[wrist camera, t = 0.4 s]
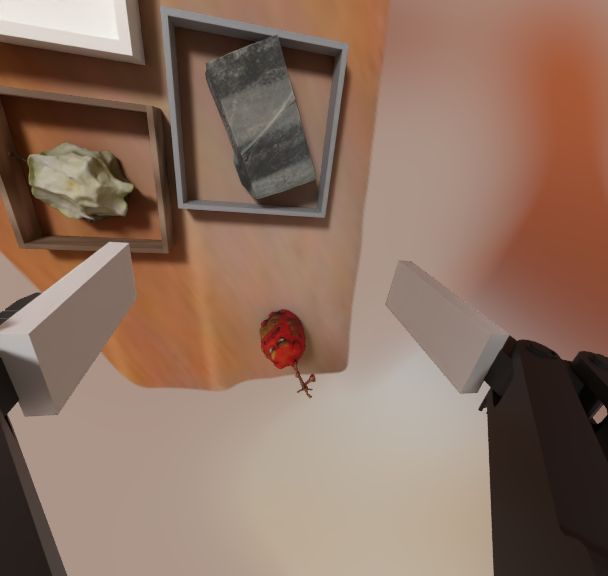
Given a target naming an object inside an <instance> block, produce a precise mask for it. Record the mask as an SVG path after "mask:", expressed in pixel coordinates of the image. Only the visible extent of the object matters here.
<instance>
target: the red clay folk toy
mask: <svg viewBox="0 0 608 576" xmlns="http://www.w3.org/2000/svg"><path fill="white" fill-rule="evenodd" d="M260 336H261V344H262V345H261V349H262V351H263V352H264V355H265V356H266V358H268V359H269V360H271V361H272V362H273V363H274V365H275V366H276V367H277V368H279V369H283V368H284V367H286V366H290V365H291V366H292V367H293V369H294V370H295V371H296V375H295V377H297V378H299V380H300V383H301V385H302V389H301V390H299V391H298V393H299V392H300V391H303V390H304V391H305V392H306V394H307V396H308V397H309V398H311V397H312V396H310V395H309V394H308V390H312V389H308V387H307V386H306V385H307V384H308V383H310V382H315V381H316V380H315V376H314V374H312V375H311V376H310V378H309V380H308V381H307V382H306V383H304V382H303V380H302V378H301V376H300V373H299V371H298V369H297V362H298V360H299V359H300V358H301V356H302V355H303V353H304V351H305V347H306V345H305V335H304V330H303V328H302V325H301V322H300V320H299V319H298V317H297V316H296V315H294V314H293V313H291V312H290V311H288V310H284V309H282V310H280V311H278V312H272V313H271V314H269V318H268V319H267V320H264V321H263V322H262V324H261V329H260Z"/></svg>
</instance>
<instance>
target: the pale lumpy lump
mask: <svg viewBox="0 0 608 576" xmlns="http://www.w3.org/2000/svg"><path fill="white" fill-rule="evenodd" d="M8 155H9V156H12V157H15V158H18V159H21V160H23V161H25V162H27V163H28V166H29V185H30V186H32V190H31V191H32V194H33V195H34V196H35V197H36V198H37V199H39V200H41V201H43V202H44V203H47V204H49V205H50V206H51V207H53V208H55V209H57V210H59V211H60V212H61V213H62V214H63V215H65V216H66V217H69V218H76V219H81V218H83V217H84V218H85V219H86V220H87V221H88V222H90V223H91V222H96V221H98V220H101V219H104V218H108V217H113V216H119V215H120V216H125V215H126V214H127V212H128V205H127V203H128V197H129V193H130V192H132V191H133V189H134V184H133V183H131V184H130V183H129V182H128V181H127V179H126V177H125V176H124V174H123V173H122V171H121V168H120V165H119V163H118V161H117V159H116V158H115V157H114V155H113V154H112V153H110V152H108V151H102V152H99V151H91V150H89V149H86V148H82V147H79V146H77V145H73V144H70V143H68V142H64V143H63V144H60V145H59V146H57V147H55V148H53V149H51V150H49V151H46V152H41V153H40V155H39V154H31V155H29V157H28V160H26V159H23V158H22V157H20V156H18V155H16V154H15V153H13V152H10V151H9V153H8ZM90 219H92V220H93V221H90Z"/></svg>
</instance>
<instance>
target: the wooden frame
mask: <svg viewBox="0 0 608 576" xmlns="http://www.w3.org/2000/svg"><path fill="white" fill-rule="evenodd" d="M0 95H6V96H14V97H22V98H29V99H37V100H45V101H53V102H61V103H69V104H76V105H84V106H92V107H100V108H108V109H116V110H124V111H131V112H139V113H147V120H148V128H149V136H150V145H151V153H152V161H153V169H154V178H155V186H156V194H157V202H158V211H159V219H160V227H161V235H162V240H148V239H125V238H101V237H78V236H55V235H43V234H42V231H41V228H40V224H39V221H38V218H37V215H36V211H35V208H34V205H33V202H32V199H31V195H30V192H29V189H28V186H27V183H26V179H25V176H24V173H23V170H22V167H21V163H20V160H19V159H18V158H15V157H12V156H9V155H8V153H9V151H10V152H13V153H15V154H16V155H18V154H17V150H16V147H15V144H14V141H13V138H12V134H11V131H10V128H9V125H8V122H7V118H6V115H5V112H4V109H3V106H2V102H1V99H0V194H1V197H2V200H3V203H4V205H5V208H6V211H7V214H8V217H9V220H10V222H11V225H12V228H13V231H14V234H15V236H16V239H17V242H18V245H19V248H22V249H51V250H80V251H98V250H99V249H101V248H102V247H103V246H105V245H106V244H107V243H108V242H121V243H129V246H130V252H139V253H168V254H169V252H170V251H171V249H172V248H173V246H174V245H175V244H174V234H173V224H172V214H171V204H170V194H169V185H168V175H167V165H166V155H165V145H164V135H163V126H162V116H161V109H159V108H156V107H153V106H148V105H140V104H133V103H125V102H118V101H110V100H103V99H95V98H88V97H80V96H73V95H65V94H57V93H50V92H42V91H35V90H27V89H20V88H12V87H5V86H0Z"/></svg>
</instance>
